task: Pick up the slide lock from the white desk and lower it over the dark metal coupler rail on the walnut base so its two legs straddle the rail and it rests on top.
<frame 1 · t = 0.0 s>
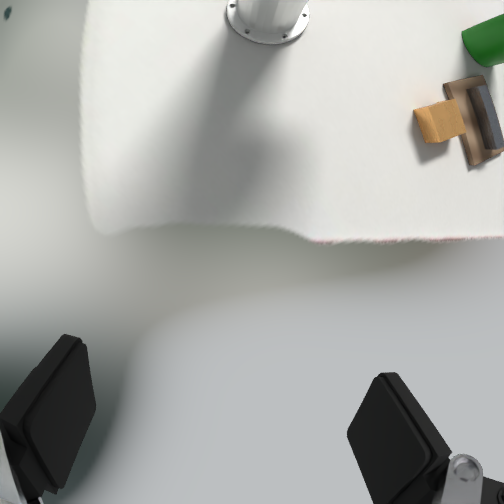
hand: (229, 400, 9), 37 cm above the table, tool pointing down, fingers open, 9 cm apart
motor: (478, 48, 37), on the table
slide lock: (433, 121, 42), on the table
rail base: (475, 118, 42), on the table
coupler rail: (486, 117, 39), on the rail base, point 3 cm above the table
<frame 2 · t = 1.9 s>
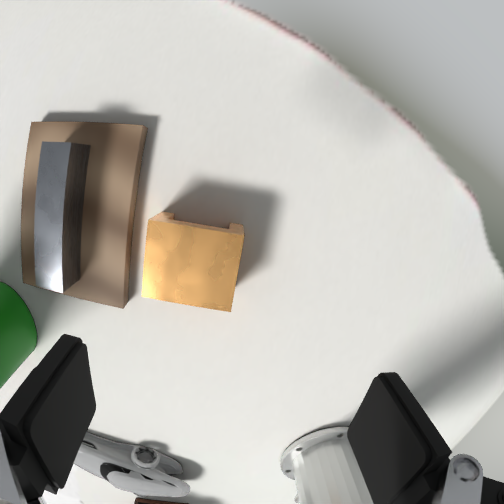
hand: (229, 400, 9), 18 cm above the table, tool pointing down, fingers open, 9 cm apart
car model: (112, 453, 34), on the table
motor: (7, 315, 27), on the table
slide lock: (196, 251, 26), on the table
rail base: (76, 210, 25), on the table
coupler rail: (59, 215, 21), on the rail base, point 3 cm above the table
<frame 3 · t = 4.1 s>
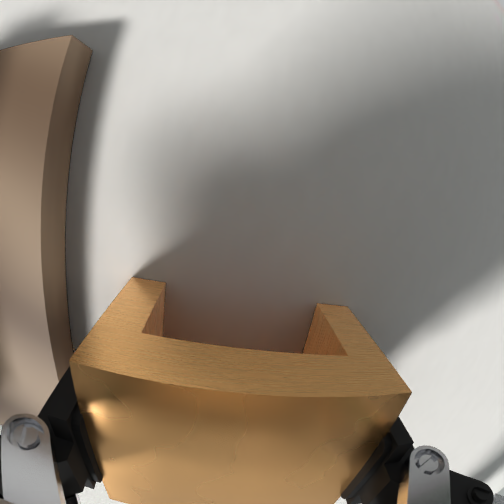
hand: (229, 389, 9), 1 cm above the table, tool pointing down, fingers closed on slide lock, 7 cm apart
slide lock: (229, 370, 10), on the table, touching gripper
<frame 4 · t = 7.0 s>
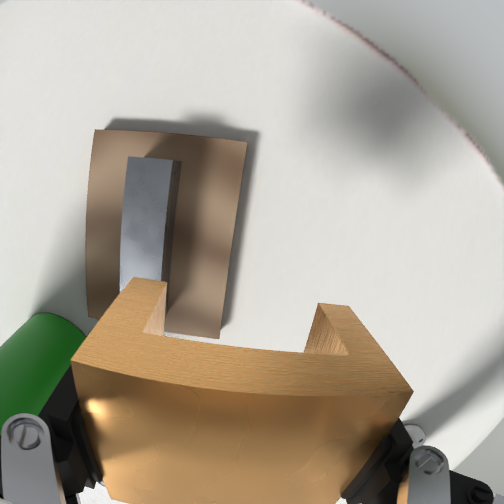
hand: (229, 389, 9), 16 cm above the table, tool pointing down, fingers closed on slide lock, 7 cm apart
motor: (60, 348, 27), on the table
slide lock: (230, 370, 10), point 15 cm above the table, touching gripper
rail base: (158, 234, 24), on the table
coupler rail: (148, 243, 21), on the rail base, point 3 cm above the table
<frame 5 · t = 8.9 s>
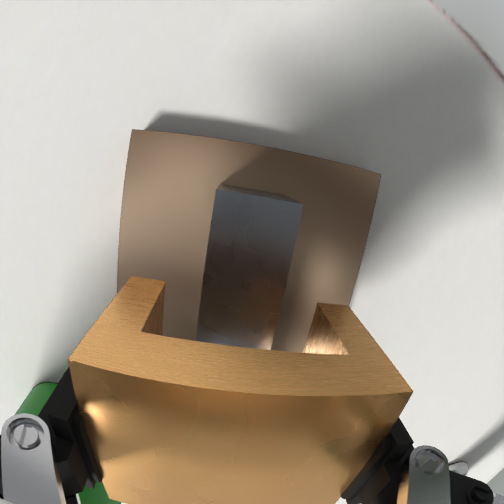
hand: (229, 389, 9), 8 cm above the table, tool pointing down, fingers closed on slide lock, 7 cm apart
motor: (79, 421, 19), on the table
slide lock: (229, 369, 10), point 7 cm above the table, touching gripper
rail base: (232, 297, 16), on the table
coupler rail: (232, 327, 13), on the rail base, point 3 cm above the table
when the fingers open (4 cm above the table, at t = 10.1 s): slide lock drops 1 cm, resting on coupler rail.
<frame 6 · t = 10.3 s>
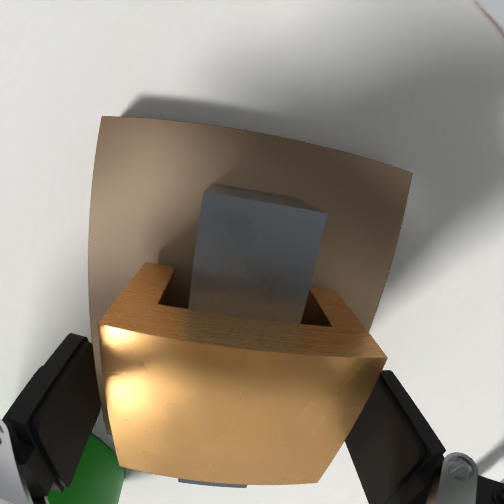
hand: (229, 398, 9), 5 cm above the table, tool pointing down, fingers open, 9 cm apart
motor: (64, 444, 16), on the table
slide lock: (230, 347, 12), point 2 cm above the table, touching coupler rail
rail base: (228, 322, 13), on the table
coupler rail: (229, 366, 10), on the rail base, point 3 cm above the table
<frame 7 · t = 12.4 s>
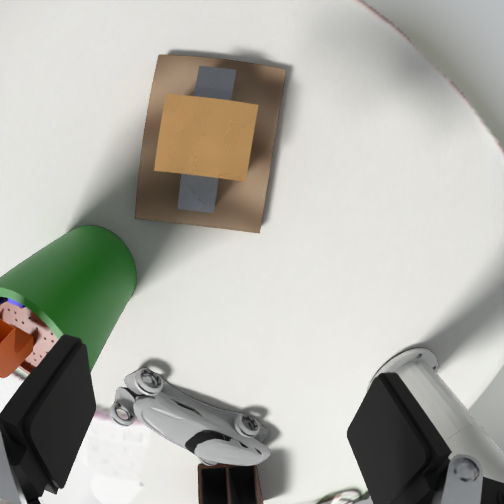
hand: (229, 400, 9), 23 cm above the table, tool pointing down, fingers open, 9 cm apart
car model: (196, 419, 39), on the table
motor: (94, 264, 30), on the table
slide lock: (208, 139, 25), point 2 cm above the table, touching coupler rail
letter holder: (233, 484, 45), on the table
rail base: (208, 140, 27), on the table
coupler rail: (206, 138, 24), on the rail base, point 3 cm above the table
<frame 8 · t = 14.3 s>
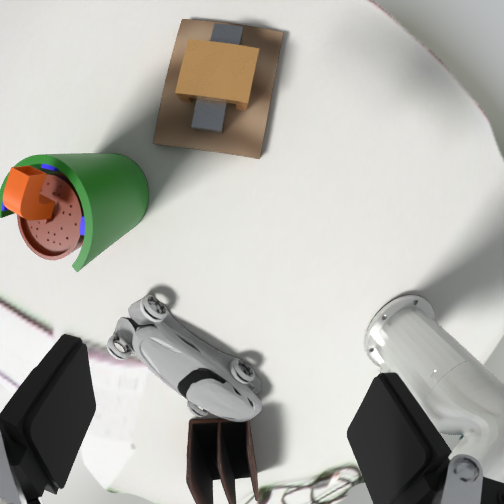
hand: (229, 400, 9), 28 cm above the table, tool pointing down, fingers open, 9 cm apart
car model: (192, 362, 42), on the table
motor: (111, 190, 34), on the table
slide lock: (219, 81, 29), point 2 cm above the table, touching coupler rail
letter holder: (226, 449, 48), on the table
rail base: (219, 85, 31), on the table
coupler rail: (218, 77, 28), on the rail base, point 3 cm above the table
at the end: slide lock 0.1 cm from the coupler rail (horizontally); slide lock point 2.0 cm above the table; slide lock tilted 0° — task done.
